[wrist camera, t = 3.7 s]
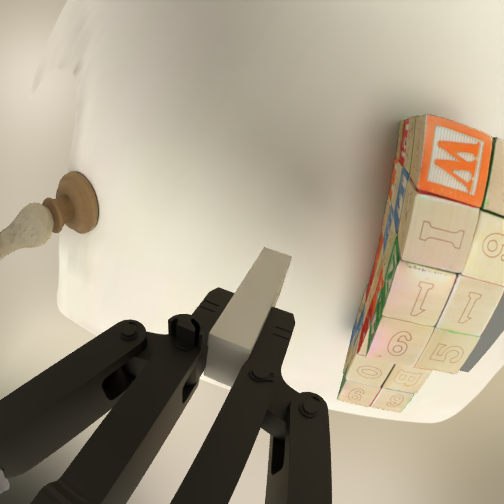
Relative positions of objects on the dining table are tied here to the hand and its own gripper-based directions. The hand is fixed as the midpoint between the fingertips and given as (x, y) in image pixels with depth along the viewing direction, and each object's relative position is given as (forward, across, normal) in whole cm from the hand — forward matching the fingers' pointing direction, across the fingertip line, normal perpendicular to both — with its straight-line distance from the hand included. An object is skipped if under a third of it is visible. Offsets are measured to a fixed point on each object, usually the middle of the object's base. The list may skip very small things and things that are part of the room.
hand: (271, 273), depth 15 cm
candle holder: (+11, -29, -7) cm, 31 cm away
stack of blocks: (+10, +10, 0) cm, 15 cm away
